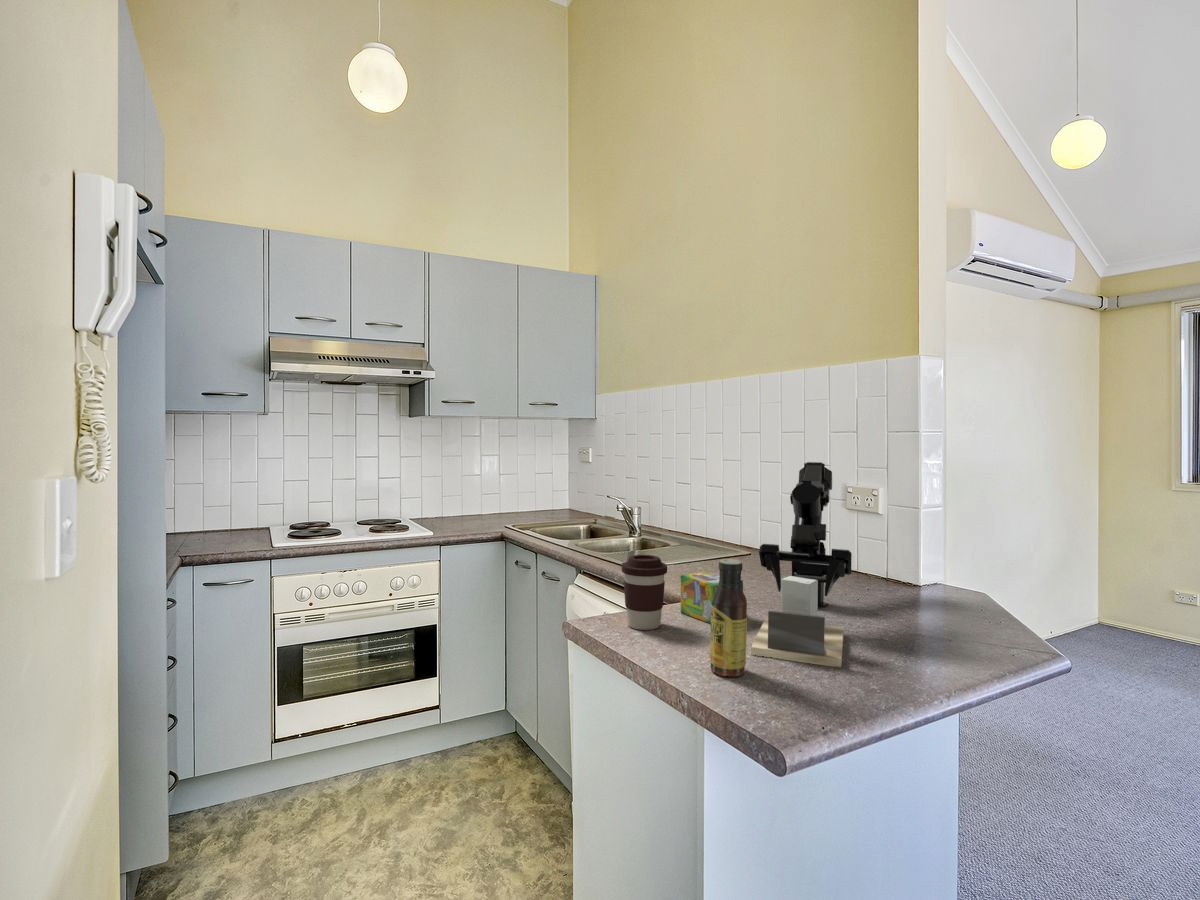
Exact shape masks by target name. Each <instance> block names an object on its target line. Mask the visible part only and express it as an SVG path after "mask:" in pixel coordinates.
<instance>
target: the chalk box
mask: <svg viewBox="0 0 1200 900" xmlns="http://www.w3.org/2000/svg"><path fill="white" fill-rule="evenodd" d="M719 574H720V573H715V572H711V571H708V570H707V571H700V572H694V573H693V572H692V573H686V574H681V575H680V613H681V614H684V615H686V616H690V617H692V618H695V619H697V620H700V621H703V622H705V623H707V624H710V625H711V604H712V601H713V598H714V596H715V593H716V590H717V588H718V585H719V577H720V576H719ZM741 590H742V591H743V592H744V581H743V579H741Z"/></svg>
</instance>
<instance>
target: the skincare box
mask: <svg viewBox="0 0 1200 900" xmlns="http://www.w3.org/2000/svg"><path fill="white" fill-rule="evenodd" d="M780 612H786V613H795V614H804V615H813V616H819V615H818V612H819V611H818V580H813V579H806V578H801V577H794V576H792V575H788V576H786V577H784V578H781V591H780Z"/></svg>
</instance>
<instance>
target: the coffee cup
mask: <svg viewBox="0 0 1200 900" xmlns="http://www.w3.org/2000/svg"><path fill="white" fill-rule="evenodd" d="M621 572H622V574H624V580H623V586H624V587H623V588H624V589H623V590H624V604H625V608H626V623H627V626H629V627H630V628H631V629H635V630H638V629H639V630H638V631H651V630H655V629H658V628H659V627H660V626H661V624H662V610H663V607H664V596H665V586H666V585H665V575H666V574H667V573H668V564H666V563H664V562H662V560H661V557H659V556H657V555H653V554H635V555H631V556H629V557H628V559H627V561H625V562H623V563H622V564H621Z"/></svg>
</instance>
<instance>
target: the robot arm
mask: <svg viewBox="0 0 1200 900" xmlns="http://www.w3.org/2000/svg"><path fill="white" fill-rule="evenodd" d="M832 490H833V470H830V469H829V468H827V467H826V466H825V463H823V462H822V461H821V462H819V461H818V462H815V461H808V462H805V463H804V464H803V467H802V468H800V469H799V470H798V482H797V483H796V485H795V487H794V488H793V489H792V491H791V494H790V496H789V497H790V504H791V505H792V506H793V507H792V508H793V514H794V522H793V524H792V525H791V536H790V545H789V546H790V549H791V551H786V550H780V544H773V543H762V544H761V545H760V546H759V549H758V550H759V552H758V554H759V561H760V566H761V567H762V568H766V570H767V571H769V572H772V575H773V577H774V580H775V583H776V588H777V590H778V592H780V593H781V579H782V574H781V561H784V562H791V576H794V577H801V578H806V579H813V580H818V608H823V607H828V606H830V604H829V602H825V601H824V599H825V598H824V596H825V597H828V595H829V593H830V592H831V589H832V588H833V586H834V585H835V583H836V582H837V581H838V579H840V578H844V577H845V575H846V576H847V575H848V576H849V575H851V574H852V558H853V557H852V552H851V550H850V549H843V548H842V549H839V548H831V555H830V554H829V555H828V554H827V553H826V547H825V544H824V542H823V541H826V540H827V524H826V523H822V521H823V518H822V517H823V511H824V508H825V507H827V506H828V505H829V503H830V501H831V500H830V491H832Z"/></svg>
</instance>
